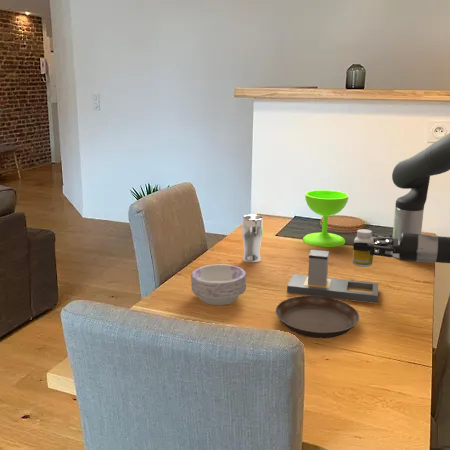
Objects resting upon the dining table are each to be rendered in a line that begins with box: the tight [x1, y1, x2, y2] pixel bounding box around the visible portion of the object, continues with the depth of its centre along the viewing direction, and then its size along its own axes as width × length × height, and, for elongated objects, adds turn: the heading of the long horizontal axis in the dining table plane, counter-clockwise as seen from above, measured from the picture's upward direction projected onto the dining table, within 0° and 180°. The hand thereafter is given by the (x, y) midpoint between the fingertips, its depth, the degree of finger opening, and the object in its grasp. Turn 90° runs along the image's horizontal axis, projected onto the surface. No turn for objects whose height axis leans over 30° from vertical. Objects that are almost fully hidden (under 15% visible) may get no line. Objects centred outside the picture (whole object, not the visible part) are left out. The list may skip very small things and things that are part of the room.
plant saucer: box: [275, 295, 360, 339], centre depth 132 cm, size 21×21×3 cm
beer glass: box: [241, 214, 264, 264], centre depth 176 cm, size 7×7×15 cm
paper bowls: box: [190, 263, 247, 306], centre depth 145 cm, size 15×15×8 cm
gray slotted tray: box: [286, 249, 379, 304], centre depth 151 cm, size 10×25×11 cm, turn 73°
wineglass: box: [302, 189, 349, 248], centre depth 198 cm, size 16×16×18 cm
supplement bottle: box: [352, 228, 374, 268], centre depth 146 cm, size 5×5×10 cm
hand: (354, 242), depth 147 cm, fingers closed on supplement bottle, 5 cm apart
